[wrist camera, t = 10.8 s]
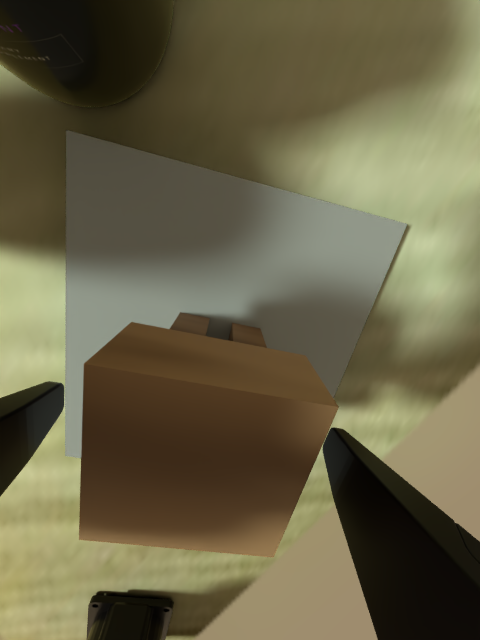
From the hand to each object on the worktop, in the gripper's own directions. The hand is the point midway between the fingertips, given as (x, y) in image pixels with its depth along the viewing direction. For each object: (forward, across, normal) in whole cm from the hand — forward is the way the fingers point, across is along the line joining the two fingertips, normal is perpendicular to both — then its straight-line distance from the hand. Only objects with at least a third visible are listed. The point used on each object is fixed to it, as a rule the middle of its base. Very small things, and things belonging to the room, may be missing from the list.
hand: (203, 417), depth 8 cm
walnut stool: (+4, 0, 0) cm, 4 cm away
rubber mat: (+5, 0, 0) cm, 5 cm away
